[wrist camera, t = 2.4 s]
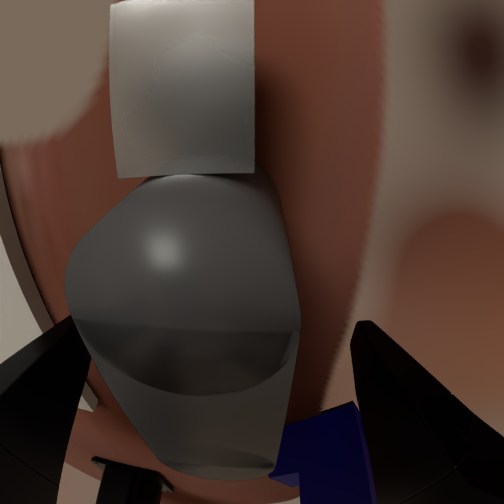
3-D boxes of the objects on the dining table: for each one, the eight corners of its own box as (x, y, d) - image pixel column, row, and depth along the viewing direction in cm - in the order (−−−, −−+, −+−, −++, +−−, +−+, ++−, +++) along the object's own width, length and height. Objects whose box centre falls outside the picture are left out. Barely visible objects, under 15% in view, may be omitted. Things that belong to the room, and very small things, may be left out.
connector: (285, 23, 5) (318, -57, 2) (269, 393, 11) (271, 481, 8) (133, 35, 5) (21, 3, 2) (186, 390, 11) (171, 474, 8)
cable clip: (267, 426, 13) (268, 532, 8) (352, 400, 12) (374, 515, 7) (336, 472, 18) (343, 533, 13) (389, 455, 17) (402, 518, 12)
